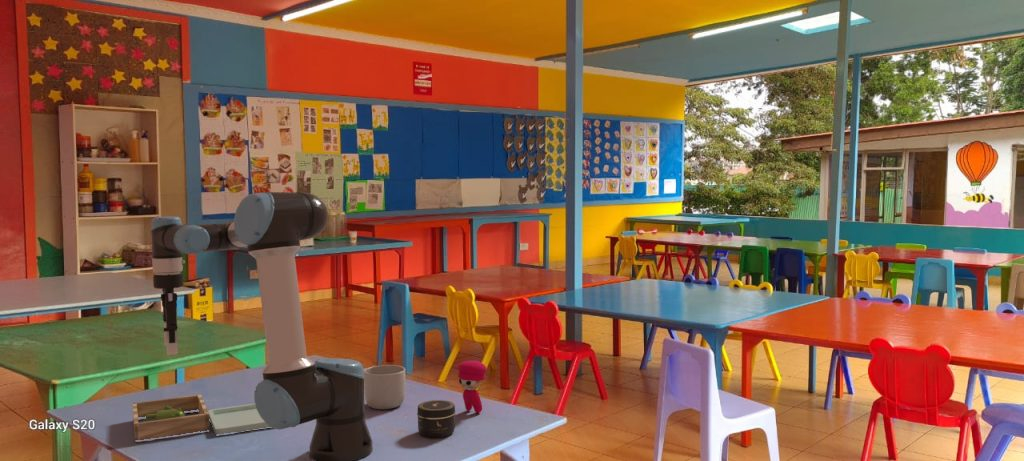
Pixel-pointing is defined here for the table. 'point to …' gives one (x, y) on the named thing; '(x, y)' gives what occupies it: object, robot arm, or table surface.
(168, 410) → the character figure
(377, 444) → the table surface
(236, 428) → the tray
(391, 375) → the planter
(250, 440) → the table surface
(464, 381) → the toy
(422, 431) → the jar
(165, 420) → the bin
